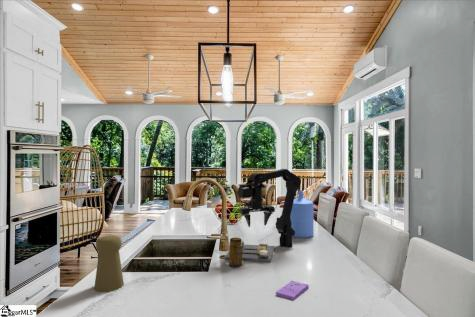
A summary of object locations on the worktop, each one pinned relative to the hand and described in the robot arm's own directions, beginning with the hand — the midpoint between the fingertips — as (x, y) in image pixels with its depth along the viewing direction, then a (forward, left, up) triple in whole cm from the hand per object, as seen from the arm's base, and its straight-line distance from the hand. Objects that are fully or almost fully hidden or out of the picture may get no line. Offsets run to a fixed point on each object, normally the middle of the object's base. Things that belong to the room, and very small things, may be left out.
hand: (257, 226), depth 164 cm
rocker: (+10, -1, -10) cm, 14 cm away
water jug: (-23, -39, -13) cm, 47 cm away
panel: (+2, +6, -13) cm, 15 cm away
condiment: (+6, +24, -13) cm, 28 cm away
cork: (+49, +56, -13) cm, 76 cm away
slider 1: (-4, +3, -11) cm, 12 cm away
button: (-5, +15, -10) cm, 19 cm away
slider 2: (-4, +10, -11) cm, 16 cm away
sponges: (-20, +48, -14) cm, 54 cm away
